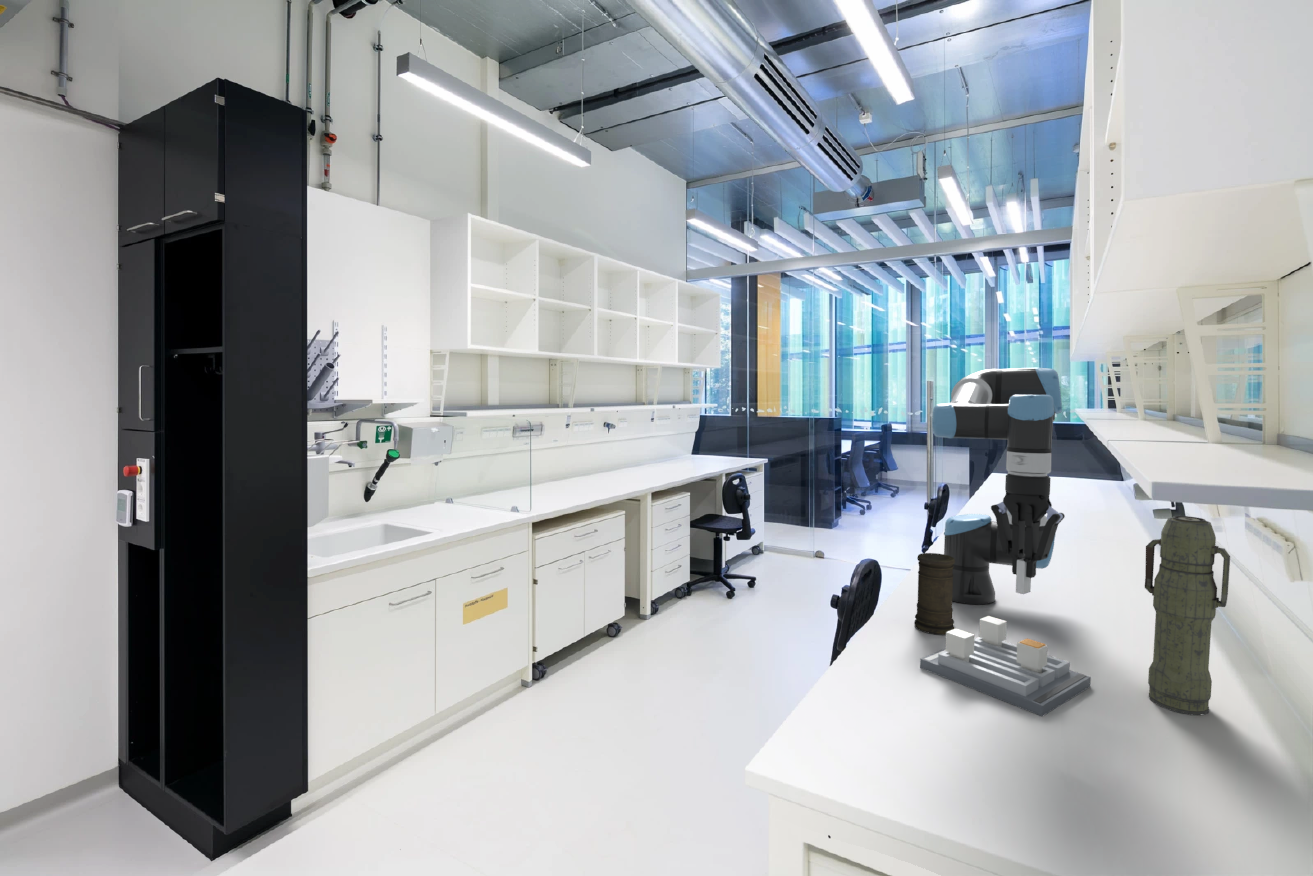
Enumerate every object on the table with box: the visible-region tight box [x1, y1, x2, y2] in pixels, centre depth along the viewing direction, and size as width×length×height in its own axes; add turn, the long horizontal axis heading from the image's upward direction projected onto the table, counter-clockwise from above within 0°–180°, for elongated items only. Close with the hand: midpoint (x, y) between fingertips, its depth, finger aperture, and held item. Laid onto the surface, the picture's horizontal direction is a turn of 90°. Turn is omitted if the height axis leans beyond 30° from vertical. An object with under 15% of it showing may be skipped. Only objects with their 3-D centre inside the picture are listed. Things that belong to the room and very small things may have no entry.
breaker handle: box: [1016, 638, 1049, 674], centre depth 122 cm, size 4×4×7 cm
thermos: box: [1144, 515, 1231, 716], centre depth 115 cm, size 9×12×35 cm
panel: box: [919, 615, 1092, 717], centre depth 126 cm, size 20×24×9 cm
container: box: [913, 552, 956, 636], centre depth 152 cm, size 9×9×18 cm
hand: (1023, 592), depth 122 cm, fingers closed
